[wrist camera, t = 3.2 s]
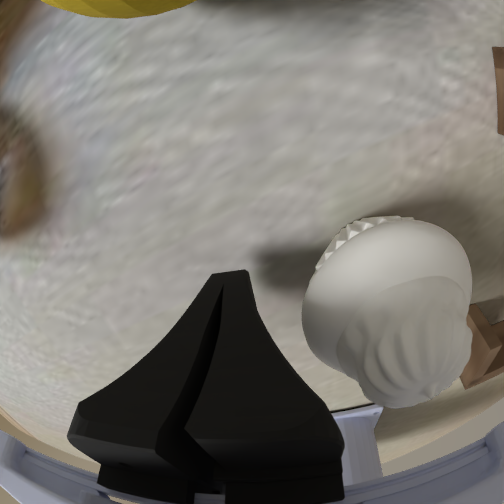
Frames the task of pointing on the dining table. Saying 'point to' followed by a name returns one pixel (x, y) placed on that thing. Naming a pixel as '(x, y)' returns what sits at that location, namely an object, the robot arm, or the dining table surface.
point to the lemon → (118, 7)
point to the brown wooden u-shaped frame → (484, 335)
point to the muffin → (392, 308)
